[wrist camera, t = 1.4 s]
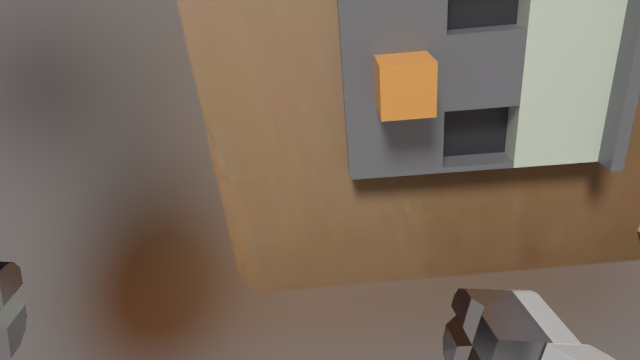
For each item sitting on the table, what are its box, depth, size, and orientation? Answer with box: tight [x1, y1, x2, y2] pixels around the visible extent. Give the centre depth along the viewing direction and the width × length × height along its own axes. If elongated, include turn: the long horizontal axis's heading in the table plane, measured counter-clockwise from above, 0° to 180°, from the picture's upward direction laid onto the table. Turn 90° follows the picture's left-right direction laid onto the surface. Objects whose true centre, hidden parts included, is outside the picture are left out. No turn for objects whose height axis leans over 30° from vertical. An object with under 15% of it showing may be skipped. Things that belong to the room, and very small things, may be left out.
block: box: [374, 51, 438, 122], centre depth 35 cm, size 4×4×4 cm
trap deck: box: [337, 0, 640, 180], centre depth 37 cm, size 22×17×4 cm
